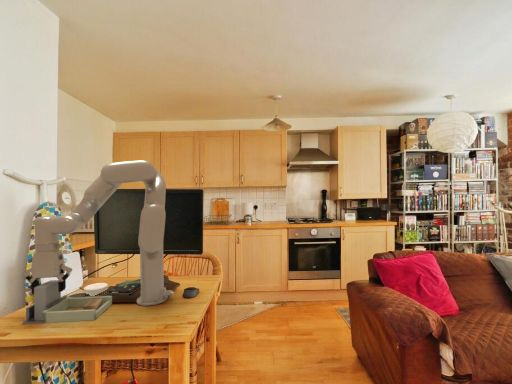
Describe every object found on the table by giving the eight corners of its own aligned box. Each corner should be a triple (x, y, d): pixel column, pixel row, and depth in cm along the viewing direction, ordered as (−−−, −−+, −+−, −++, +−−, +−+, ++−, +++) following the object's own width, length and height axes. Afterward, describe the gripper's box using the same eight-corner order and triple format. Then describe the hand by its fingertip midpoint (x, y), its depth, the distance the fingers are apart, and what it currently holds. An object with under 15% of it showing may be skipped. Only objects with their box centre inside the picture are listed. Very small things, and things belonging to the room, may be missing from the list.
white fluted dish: (99, 288, 138) (99, 281, 138) (112, 291, 134) (112, 284, 134) (79, 294, 130) (79, 287, 130) (92, 298, 125) (92, 290, 125)
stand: (69, 306, 116) (69, 294, 116) (44, 323, 100) (44, 309, 100) (50, 307, 115) (50, 294, 115) (22, 324, 99) (22, 310, 100)
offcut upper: (102, 303, 113) (102, 298, 113) (95, 311, 106) (95, 305, 106) (91, 304, 112) (91, 299, 112) (83, 312, 105) (83, 306, 105)
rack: (112, 304, 117) (112, 294, 117) (94, 320, 102) (94, 309, 102) (67, 306, 115) (67, 296, 115) (42, 322, 100) (42, 311, 100)
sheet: (60, 309, 112) (60, 279, 112) (45, 319, 103) (45, 287, 103) (50, 310, 112) (50, 280, 112) (34, 320, 103) (34, 287, 103)
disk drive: (130, 296, 127) (144, 285, 142) (130, 290, 127) (144, 280, 142) (108, 296, 127) (124, 285, 142) (108, 290, 127) (124, 280, 142)
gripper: (76, 244, 112) (77, 287, 112) (30, 247, 111) (32, 289, 111) (64, 248, 105) (66, 293, 105) (16, 251, 103) (17, 296, 103)
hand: (48, 291), depth 108 cm, fingers open, 9 cm apart
